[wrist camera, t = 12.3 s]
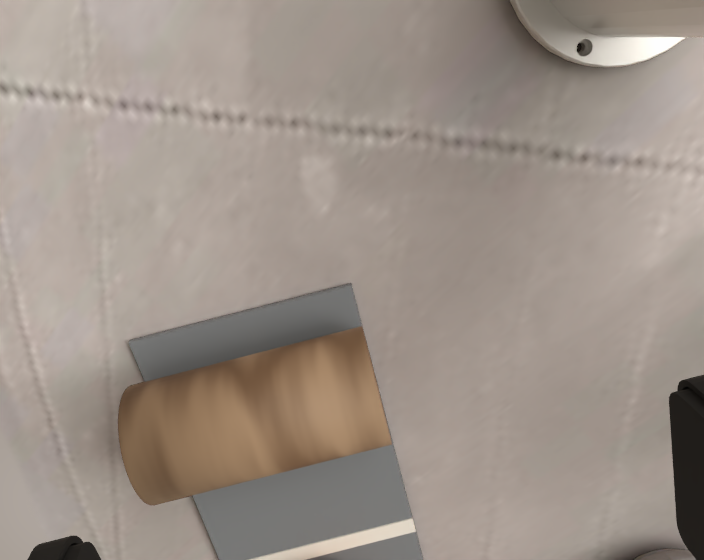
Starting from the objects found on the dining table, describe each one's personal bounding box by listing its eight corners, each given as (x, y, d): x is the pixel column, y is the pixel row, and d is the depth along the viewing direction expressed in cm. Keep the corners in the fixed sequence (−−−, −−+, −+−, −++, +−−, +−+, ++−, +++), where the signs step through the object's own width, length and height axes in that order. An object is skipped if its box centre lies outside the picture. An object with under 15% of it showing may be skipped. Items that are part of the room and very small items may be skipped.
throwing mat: (351, 283, 39) (351, 286, 39) (438, 618, 50) (439, 624, 49) (130, 340, 39) (128, 343, 39) (264, 662, 50) (264, 668, 49)
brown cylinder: (357, 307, 39) (370, 361, 33) (382, 402, 42) (398, 469, 35) (137, 364, 39) (106, 429, 33) (175, 455, 42) (153, 532, 35)
